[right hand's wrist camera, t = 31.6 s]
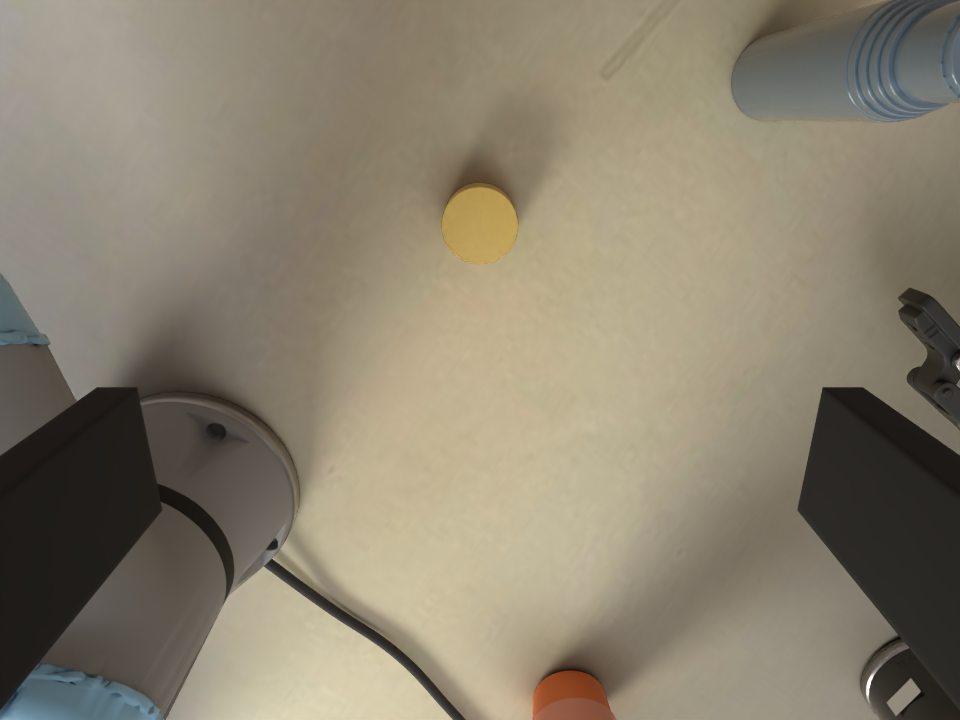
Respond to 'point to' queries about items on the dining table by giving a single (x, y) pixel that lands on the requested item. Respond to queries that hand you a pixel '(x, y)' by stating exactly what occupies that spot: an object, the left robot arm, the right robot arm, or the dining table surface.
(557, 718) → the cup with straw
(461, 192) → the cap
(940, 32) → the bottle
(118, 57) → the dining table surface
